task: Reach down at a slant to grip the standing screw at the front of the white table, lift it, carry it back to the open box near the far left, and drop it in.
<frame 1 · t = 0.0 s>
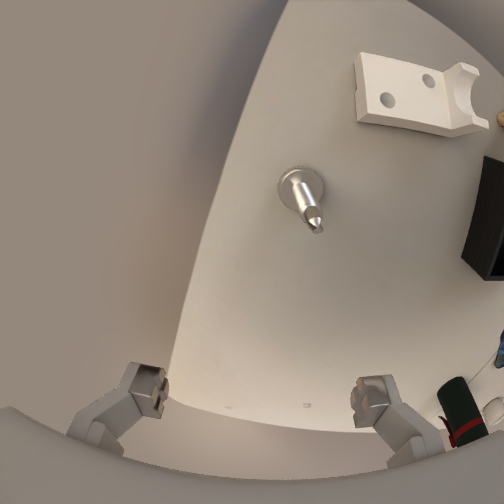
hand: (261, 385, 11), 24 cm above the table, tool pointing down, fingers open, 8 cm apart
wine bottle: (447, 389, 49), on the table
bracket: (405, 93, 25), on the table
mug: (492, 402, 56), on the table
screw: (298, 184, 31), on the table
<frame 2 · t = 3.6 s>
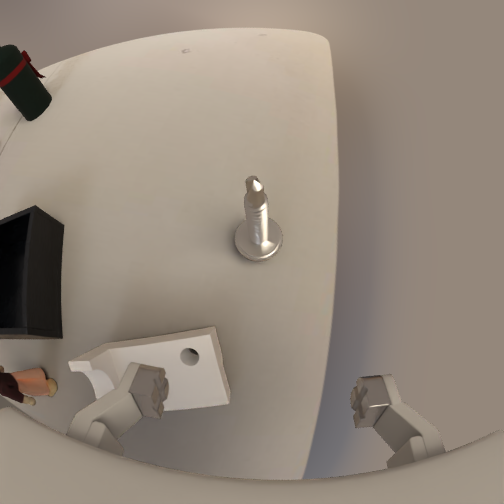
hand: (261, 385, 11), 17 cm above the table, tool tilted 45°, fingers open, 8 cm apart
wine bottle: (42, 105, 44), on the table
grandmother figurine: (44, 380, 27), on the table
bracket: (166, 376, 27), on the table
screw: (259, 245, 31), on the table
open box: (26, 285, 31), on the table
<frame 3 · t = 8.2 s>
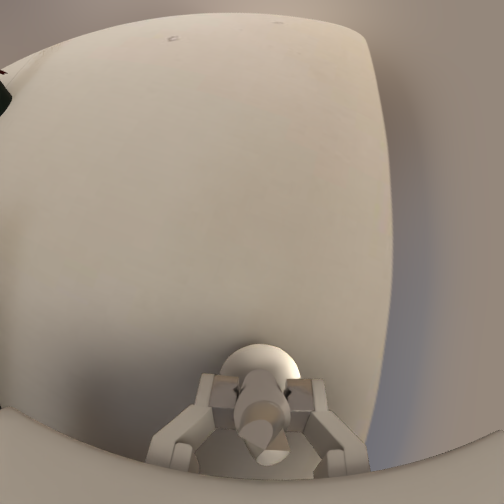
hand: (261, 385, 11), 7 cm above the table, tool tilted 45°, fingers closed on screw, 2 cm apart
wine bottle: (1, 107, 30), on the table
screw: (259, 378, 17), on the table, touching gripper
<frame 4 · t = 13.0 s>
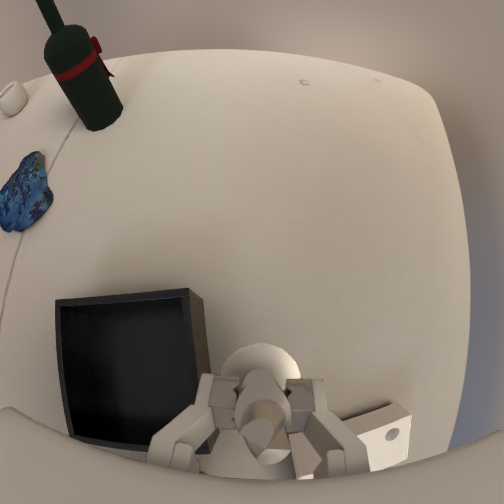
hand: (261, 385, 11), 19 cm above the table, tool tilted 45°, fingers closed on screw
wine bottle: (107, 111, 42), on the table
rock: (24, 198, 37), on the table
bracket: (347, 448, 25), on the table
mug: (16, 109, 47), on the table
screw: (259, 378, 17), point 12 cm above the table, touching gripper
open box: (144, 370, 29), on the table
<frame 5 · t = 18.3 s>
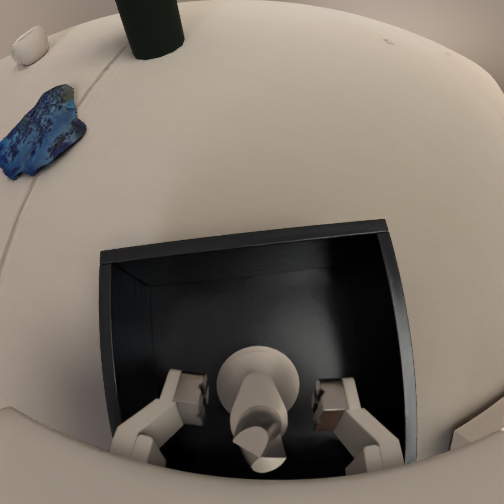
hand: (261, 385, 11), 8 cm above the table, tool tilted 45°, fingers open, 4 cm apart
wine bottle: (162, 43, 31), on the table
rock: (41, 137, 26), on the table
bracket: (492, 434, 15), on the table
mug: (33, 60, 36), on the table
screw: (257, 380, 17), point 1 cm above the table, touching open box
open box: (259, 377, 18), on the table
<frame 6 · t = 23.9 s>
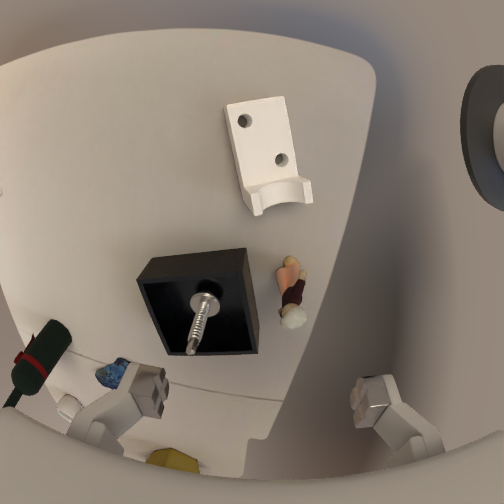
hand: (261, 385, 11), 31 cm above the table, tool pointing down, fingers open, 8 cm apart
wine bottle: (56, 329, 56), on the table
flower pot: (175, 455, 84), on the table
rock: (126, 379, 61), on the table
grandmother figurine: (287, 271, 44), on the table
bracket: (266, 147, 36), on the table
mug: (75, 402, 73), on the table
screw: (207, 296, 46), point 1 cm above the table, touching open box
open box: (207, 294, 47), on the table
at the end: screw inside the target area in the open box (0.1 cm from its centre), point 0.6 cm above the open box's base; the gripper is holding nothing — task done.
